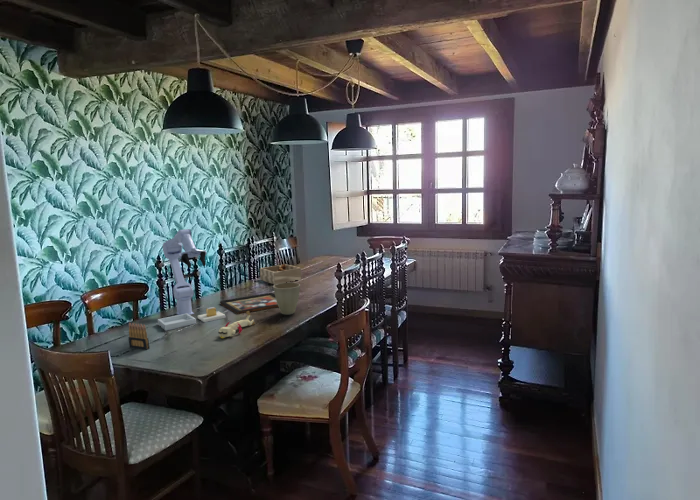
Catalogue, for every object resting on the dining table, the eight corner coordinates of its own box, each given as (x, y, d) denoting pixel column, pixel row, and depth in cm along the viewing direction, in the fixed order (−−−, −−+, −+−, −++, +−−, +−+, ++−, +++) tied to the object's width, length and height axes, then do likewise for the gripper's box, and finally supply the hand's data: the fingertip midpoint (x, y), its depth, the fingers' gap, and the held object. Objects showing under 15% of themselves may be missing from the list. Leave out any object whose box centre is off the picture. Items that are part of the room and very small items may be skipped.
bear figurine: (270, 279, 365) (269, 263, 363) (290, 277, 367) (289, 262, 365) (270, 283, 351) (269, 266, 350) (291, 281, 354) (290, 265, 352)
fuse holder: (197, 318, 265) (197, 315, 265) (218, 314, 273) (218, 311, 272) (204, 322, 258) (204, 319, 257) (225, 318, 265) (225, 314, 264)
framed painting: (240, 317, 267) (240, 312, 267) (214, 306, 294) (214, 301, 294) (298, 304, 291) (297, 300, 291) (268, 295, 318) (268, 291, 318)
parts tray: (158, 324, 258) (157, 319, 257) (187, 318, 267) (187, 313, 267) (165, 330, 247) (165, 325, 246) (196, 324, 256) (195, 318, 256)
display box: (260, 279, 362) (259, 268, 361) (286, 275, 375) (285, 264, 374) (274, 284, 344) (274, 272, 343) (301, 279, 357) (300, 268, 355)
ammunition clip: (129, 347, 224) (126, 322, 222) (132, 346, 225) (129, 321, 223) (146, 349, 219) (143, 324, 218) (149, 348, 221) (146, 323, 219)
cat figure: (242, 326, 254) (212, 337, 231) (242, 309, 254) (211, 319, 231) (258, 327, 251) (229, 339, 227) (258, 311, 250) (228, 321, 227)
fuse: (206, 318, 265) (205, 308, 264) (214, 316, 267) (213, 306, 267) (208, 319, 262) (207, 309, 262) (216, 317, 265) (215, 307, 264)
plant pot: (276, 317, 262) (275, 289, 259) (273, 310, 276) (271, 283, 273) (303, 314, 266) (302, 286, 263) (298, 308, 280) (297, 281, 278)
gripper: (177, 243, 249) (185, 262, 243) (204, 240, 258) (212, 259, 251) (174, 252, 254) (182, 271, 247) (201, 249, 262) (209, 267, 256)
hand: (197, 265), depth 249 cm, fingers open, 7 cm apart
